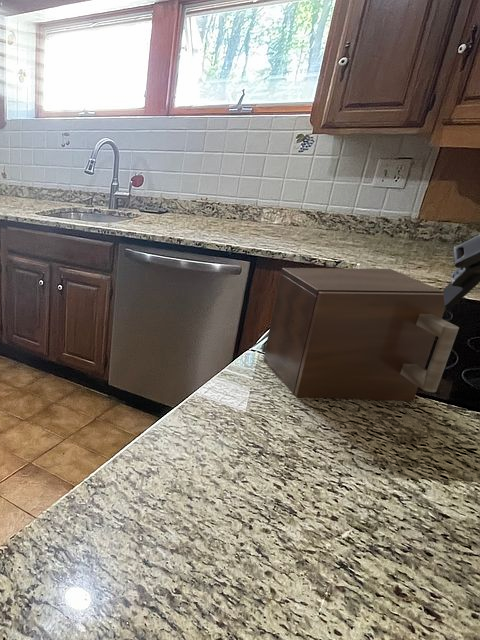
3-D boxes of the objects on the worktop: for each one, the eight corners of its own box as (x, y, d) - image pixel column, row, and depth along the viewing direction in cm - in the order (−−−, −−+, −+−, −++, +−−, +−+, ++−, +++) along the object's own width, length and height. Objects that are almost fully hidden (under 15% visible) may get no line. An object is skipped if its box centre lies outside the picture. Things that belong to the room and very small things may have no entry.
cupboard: (408, 398, 85) (444, 291, 78) (293, 394, 87) (317, 290, 80) (362, 363, 98) (390, 268, 91) (262, 360, 100) (281, 267, 93)
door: (440, 421, 78) (482, 308, 71) (313, 416, 80) (342, 306, 73) (409, 398, 85) (445, 292, 78) (293, 394, 87) (318, 291, 80)
